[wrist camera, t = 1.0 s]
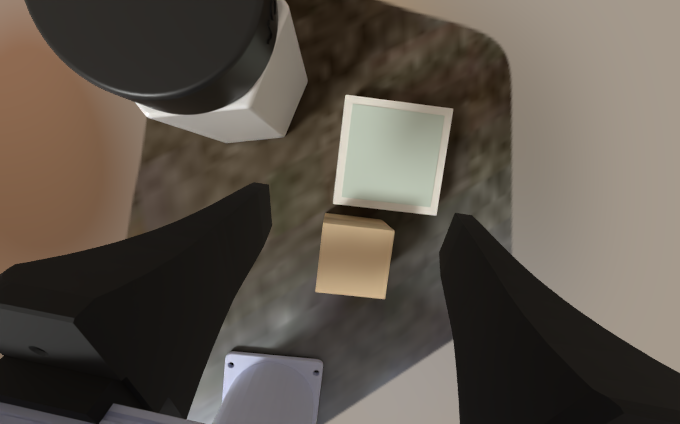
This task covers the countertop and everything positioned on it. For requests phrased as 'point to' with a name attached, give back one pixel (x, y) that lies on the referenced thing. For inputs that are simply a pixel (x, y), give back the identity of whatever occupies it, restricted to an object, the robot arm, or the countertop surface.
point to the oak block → (354, 256)
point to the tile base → (391, 155)
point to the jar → (186, 59)
